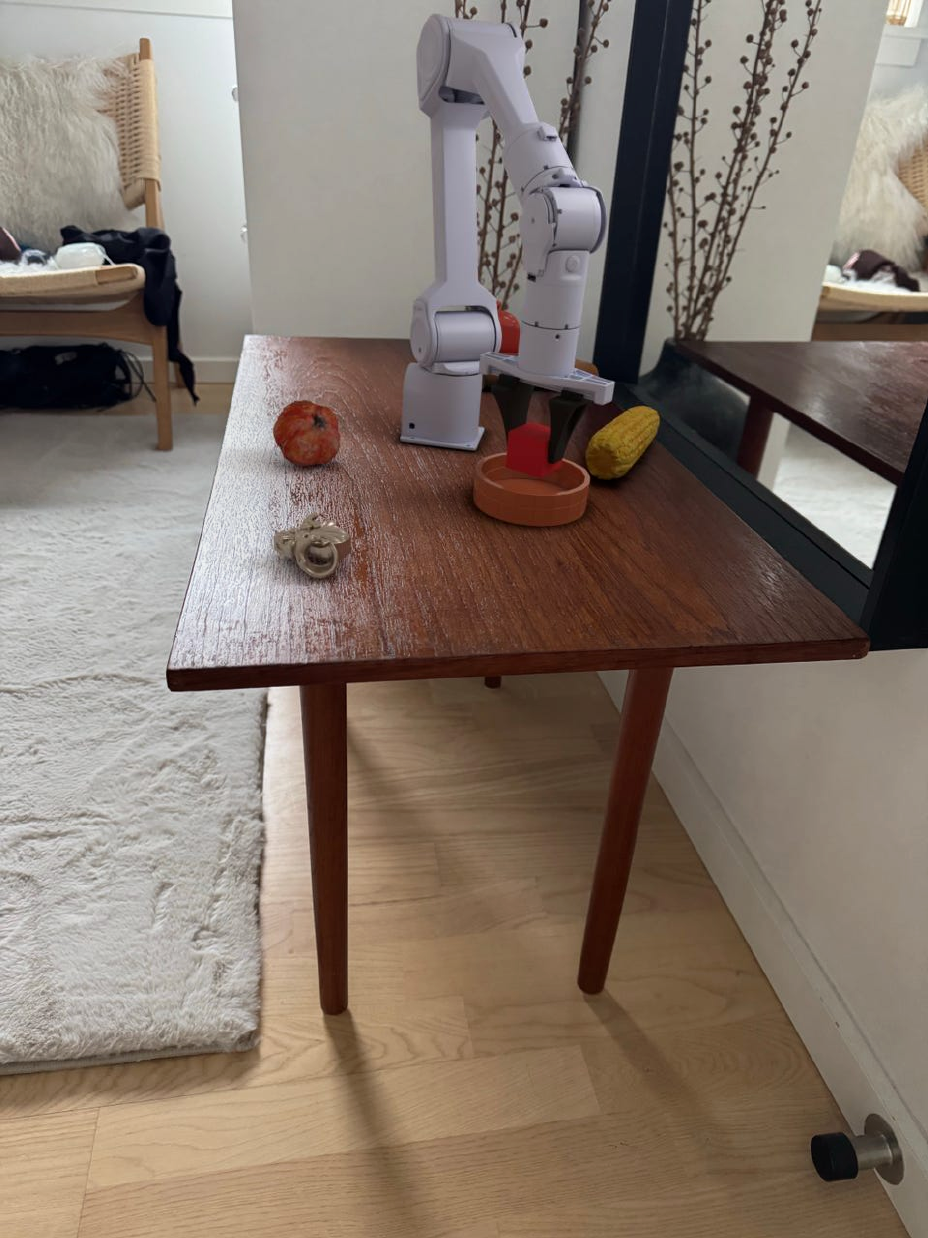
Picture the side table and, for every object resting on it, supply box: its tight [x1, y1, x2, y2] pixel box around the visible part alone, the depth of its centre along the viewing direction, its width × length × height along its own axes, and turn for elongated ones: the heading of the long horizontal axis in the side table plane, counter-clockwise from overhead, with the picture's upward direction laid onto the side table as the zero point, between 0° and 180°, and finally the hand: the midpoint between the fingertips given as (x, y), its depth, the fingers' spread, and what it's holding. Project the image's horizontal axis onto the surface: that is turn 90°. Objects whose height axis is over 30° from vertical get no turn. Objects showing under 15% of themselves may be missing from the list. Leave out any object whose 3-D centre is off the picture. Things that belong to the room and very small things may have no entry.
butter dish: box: [496, 299, 521, 356], centre depth 147 cm, size 12×12×8 cm
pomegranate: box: [272, 399, 341, 468], centre depth 100 cm, size 7×7×10 cm
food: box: [584, 405, 661, 481], centre depth 109 cm, size 21×6×6 cm, turn 157°
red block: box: [505, 421, 562, 478], centre depth 93 cm, size 4×4×4 cm
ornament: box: [272, 511, 351, 579], centre depth 80 cm, size 8×7×4 cm
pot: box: [472, 451, 591, 527], centre depth 95 cm, size 12×12×4 cm
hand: (535, 455), depth 94 cm, fingers closed on red block, 4 cm apart
